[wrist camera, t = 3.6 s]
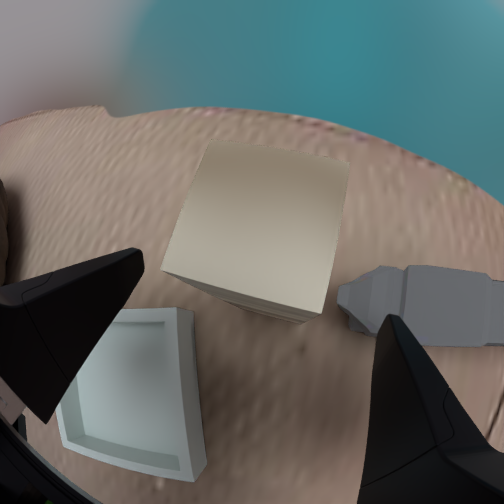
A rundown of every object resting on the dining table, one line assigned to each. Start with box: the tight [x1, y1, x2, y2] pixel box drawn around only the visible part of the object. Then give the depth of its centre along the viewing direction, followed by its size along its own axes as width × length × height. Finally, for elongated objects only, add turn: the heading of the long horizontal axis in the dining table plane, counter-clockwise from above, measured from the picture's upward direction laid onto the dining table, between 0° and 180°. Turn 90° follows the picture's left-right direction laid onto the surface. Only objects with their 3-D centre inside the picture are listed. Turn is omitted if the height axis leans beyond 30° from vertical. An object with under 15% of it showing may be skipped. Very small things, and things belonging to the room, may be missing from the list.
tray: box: [56, 307, 207, 482], centre depth 16 cm, size 12×12×3 cm
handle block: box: [160, 139, 350, 324], centre depth 12 cm, size 4×4×12 cm
